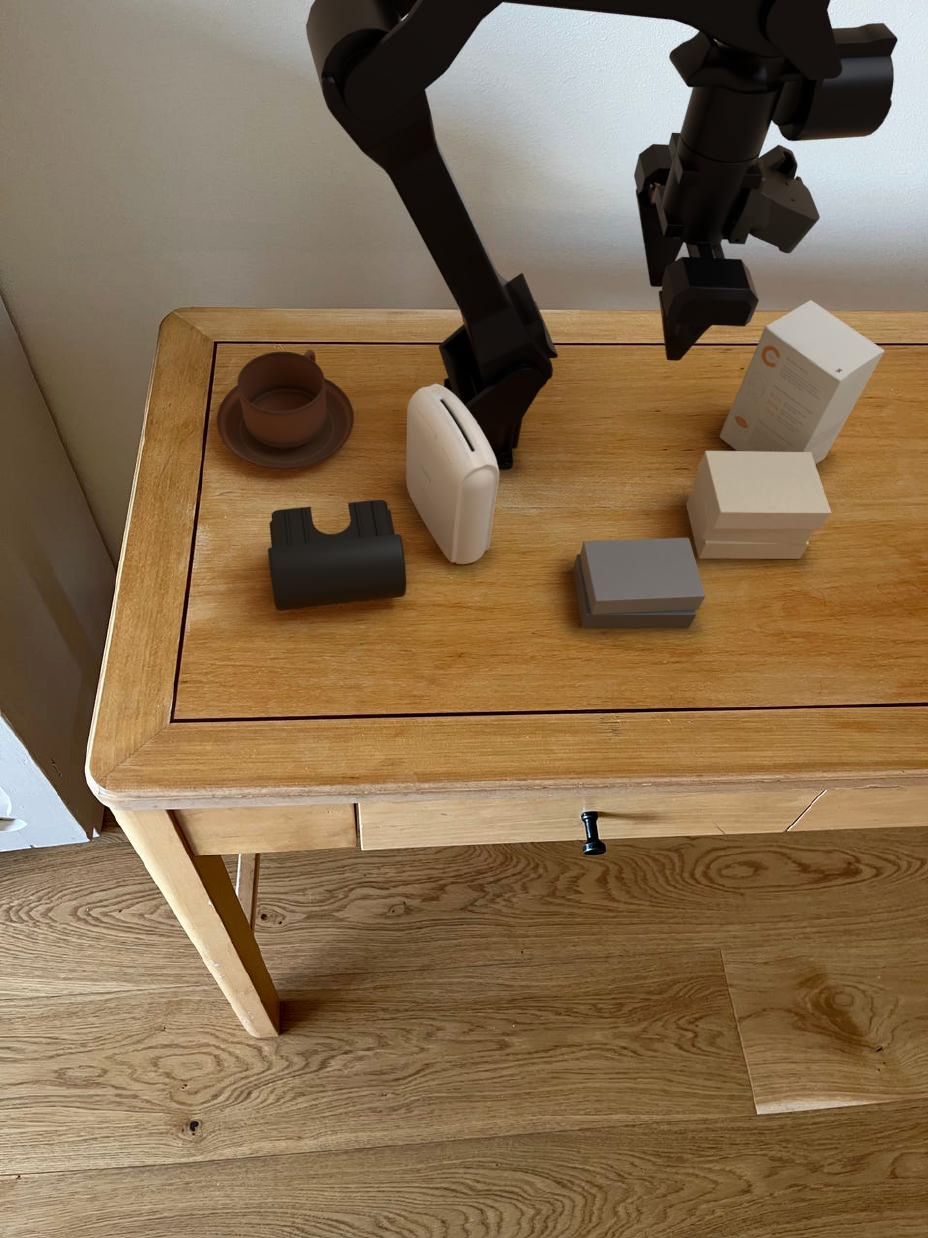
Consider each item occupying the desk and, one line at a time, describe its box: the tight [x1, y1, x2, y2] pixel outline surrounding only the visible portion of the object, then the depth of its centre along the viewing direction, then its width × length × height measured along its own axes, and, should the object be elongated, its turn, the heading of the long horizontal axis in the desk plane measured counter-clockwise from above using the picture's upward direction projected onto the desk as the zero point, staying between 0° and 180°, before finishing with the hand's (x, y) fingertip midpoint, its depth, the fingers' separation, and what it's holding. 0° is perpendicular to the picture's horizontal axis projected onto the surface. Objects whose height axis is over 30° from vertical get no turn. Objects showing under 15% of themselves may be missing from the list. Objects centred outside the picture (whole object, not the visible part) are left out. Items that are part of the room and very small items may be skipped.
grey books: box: [572, 537, 706, 629], centre depth 75 cm, size 9×6×4 cm
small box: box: [719, 299, 885, 465], centre depth 82 cm, size 8×6×13 cm
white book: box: [697, 450, 832, 530], centre depth 77 cm, size 9×7×2 cm
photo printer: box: [405, 383, 500, 565], centre depth 75 cm, size 10×4×12 cm, turn 26°
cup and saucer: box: [216, 349, 355, 472], centre depth 81 cm, size 12×12×6 cm
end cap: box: [267, 499, 407, 612], centre depth 72 cm, size 10×7×7 cm
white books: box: [686, 469, 816, 560], centre depth 80 cm, size 9×6×4 cm
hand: (664, 321), depth 78 cm, fingers open, 9 cm apart
